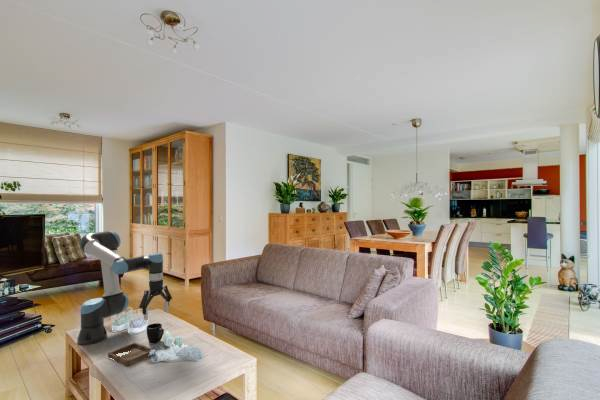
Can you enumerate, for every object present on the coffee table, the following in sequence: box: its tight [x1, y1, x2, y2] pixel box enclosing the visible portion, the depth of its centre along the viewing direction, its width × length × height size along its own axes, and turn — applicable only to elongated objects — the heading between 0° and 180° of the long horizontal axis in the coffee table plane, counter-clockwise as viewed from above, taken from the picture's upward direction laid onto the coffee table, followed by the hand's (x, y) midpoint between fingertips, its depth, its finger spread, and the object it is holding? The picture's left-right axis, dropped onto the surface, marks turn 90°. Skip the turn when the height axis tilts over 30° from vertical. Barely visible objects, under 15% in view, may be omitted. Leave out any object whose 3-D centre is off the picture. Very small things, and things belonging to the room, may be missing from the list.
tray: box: [107, 341, 153, 367], centre depth 169 cm, size 18×15×2 cm
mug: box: [146, 322, 165, 344], centre depth 185 cm, size 8×12×10 cm
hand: (156, 315), depth 185 cm, fingers open, 13 cm apart
